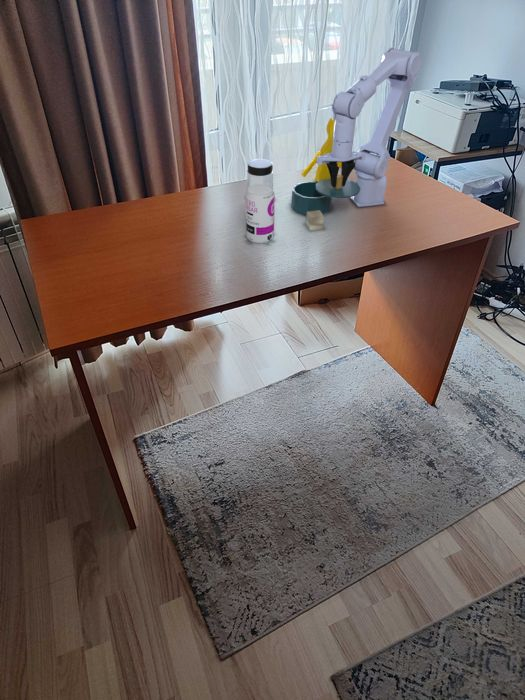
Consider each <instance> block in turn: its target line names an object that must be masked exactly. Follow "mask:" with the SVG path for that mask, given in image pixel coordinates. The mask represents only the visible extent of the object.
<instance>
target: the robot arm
mask: <svg viewBox="0 0 525 700" xmlns="http://www.w3.org/2000/svg"><path fill="white" fill-rule="evenodd" d="M421 68H422V56H421V53H420V52H419V51H410V50H404V49H399V48H394V47H389V48H388V49H386V51H385V52H384V53H383V54H382V58H381V62H379V64H378V65H377V66H376V67H375V68H374V69H373V71H372V72H371V73H369V75H365V74H364V75H361V76H360V77H359V79H358V80H356V81H355V82H354V83H353V84H352V85H351V86H350V87H349V88H348V89H347V90H346V91H340V92H338V93H336V95H335V97H334V98H333V102H332V104H331V110H332V111H331V112H332V114H333V117H332V118H333V119H334V121H335V127H334V137H333V147H332V153H329V154H325V155H321V156H317V163H316V164H317V166H318V165H322V164H325V163H326V164H327V167H328V169H329V173H330V177H331V185H332V186H333V187H336V183H337V175H339V170H340V167H339V166H337V165H338V164H337V162H341V163H342V169H341V171H340V172H341V173H340V175H342V176H343V181H342V186H345V184H346V181H347V180H349V177H350V175H351V173H352V171H355V175H356V180H355V183H357V184H358V185H359V186H360V192H359V193H358V194H357V195H355V196H353V197H349V199H351V201H352V202H353V203H354V204H355V206H356V207H358V208H362V207H372V206H381V205H385V202H384V201H385V196H386V190H387V177H386V175H385V173H386V172H387V170H388V165H389V160H390V157H391V155H390V152H389V151H388V149H387V145H388V141H389V139H390V137H391V134H392V132H393V129H394V128H395V124H396V122H397V119H398V117H399V114H400V112H401V110H402V107H403V105H404V102H405V100H406V97H407V95H408V92H409V91H410V89H411V88H413V87H414V84H415V82H416V80H417V78H418V75H419V74H420V71H421ZM385 80H386V82H387V83H388V84H389V85H390V90H389V92H388V95H387V98H386V100H385V102H384V104H383V108H382V110H381V112H380V114H379V118H378V120H377V122H376V125H375V127H374V130H373V133H372V135H371V136H370V137H371V138H370V140H369V141H368V142H366V143H363V144H361V146H360V148H359V150H358V151H353V147H354V146H353V145H354V137H355V132H356V131H355V130H356V120H357V117H359V116H360V115H361V112H362V109H364V107H365V103H367V102H368V101H369V100H370V99H371V98H373V96H374V95H375V94H376V92H377V87H378V86H379V85H381V84H382V83H383V82H385Z"/></svg>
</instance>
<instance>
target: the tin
mask: <svg viewBox="0 0 525 700" xmlns="http://www.w3.org/2000/svg"><path fill="white" fill-rule="evenodd" d="M317 183H318V182H317V181H311V180H309V181H302V182H299V183H296V184H294V186H292V189H291V209H292V211H293V212H295V213H297V214H299V215H301V216H306V217H307V212H308V211H317V210H320V211H321V213H322V214H323V215H325V214H327V213H329V211H331V208H332V207H331V206H332V198H331V197H327V196H324V195H322V194H320V193H318V192H317V191H316V184H317Z"/></svg>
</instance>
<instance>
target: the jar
mask: <svg viewBox="0 0 525 700" xmlns="http://www.w3.org/2000/svg"><path fill="white" fill-rule="evenodd" d="M256 184H264V185H268V186H270V187H272V190H273V191H274V172H273V162H272V161H271V160H269V159H266V158H255V159H251V160H249V161H248V162H247V170H246V185H247V187H246V189H247V190H248V188H249V187H250V186H252V185H256ZM247 190H246V191H247Z"/></svg>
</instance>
